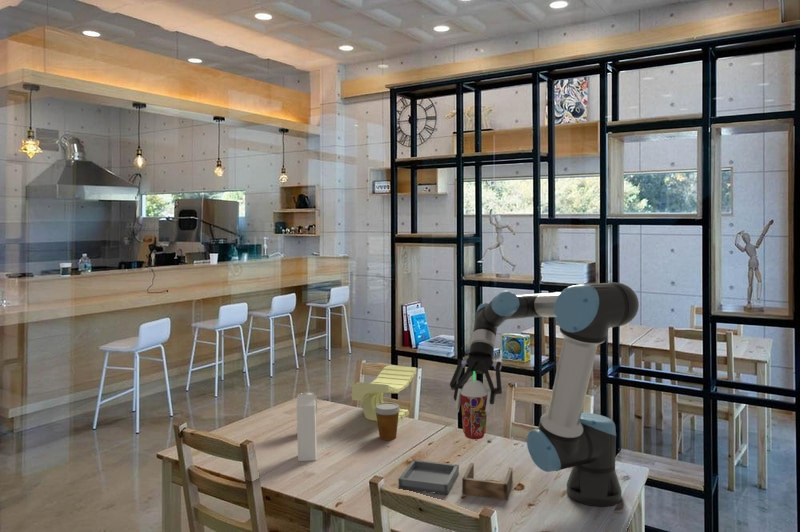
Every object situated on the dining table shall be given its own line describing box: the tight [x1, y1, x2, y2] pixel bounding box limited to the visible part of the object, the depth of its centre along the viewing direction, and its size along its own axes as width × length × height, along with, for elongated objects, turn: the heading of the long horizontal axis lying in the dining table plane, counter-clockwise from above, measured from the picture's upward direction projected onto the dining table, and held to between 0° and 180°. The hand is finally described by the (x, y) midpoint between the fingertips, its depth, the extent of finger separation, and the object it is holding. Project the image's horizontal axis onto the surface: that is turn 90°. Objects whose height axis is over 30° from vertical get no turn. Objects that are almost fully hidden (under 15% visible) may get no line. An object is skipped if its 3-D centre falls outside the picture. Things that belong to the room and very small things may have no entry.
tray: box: [398, 459, 460, 496], centre depth 177 cm, size 15×15×3 cm
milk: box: [296, 394, 318, 462], centre depth 196 cm, size 6×6×22 cm
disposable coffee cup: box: [375, 401, 401, 441], centre depth 215 cm, size 10×10×12 cm
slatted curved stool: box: [351, 364, 417, 423], centre depth 239 cm, size 30×16×18 cm, turn 158°
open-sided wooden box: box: [461, 462, 514, 501], centre depth 171 cm, size 13×12×4 cm
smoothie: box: [460, 371, 489, 440], centre depth 173 cm, size 8×8×20 cm
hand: (471, 411), depth 170 cm, fingers closed on smoothie, 8 cm apart
